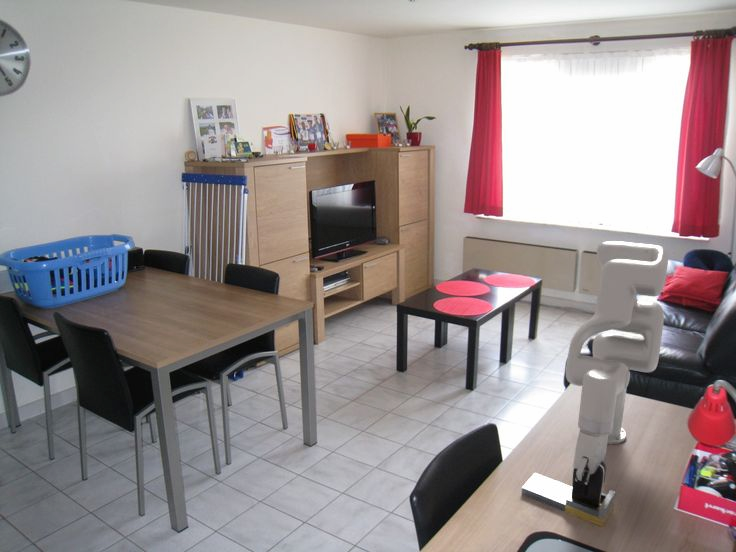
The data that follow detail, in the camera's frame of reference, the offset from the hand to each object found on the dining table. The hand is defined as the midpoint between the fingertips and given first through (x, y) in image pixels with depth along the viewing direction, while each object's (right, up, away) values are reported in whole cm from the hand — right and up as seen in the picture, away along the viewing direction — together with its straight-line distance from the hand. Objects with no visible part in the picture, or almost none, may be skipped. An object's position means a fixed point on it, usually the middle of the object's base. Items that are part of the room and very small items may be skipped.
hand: (587, 486), depth 144 cm
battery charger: (0, -4, +2) cm, 5 cm away
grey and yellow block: (-4, -5, +4) cm, 8 cm away
